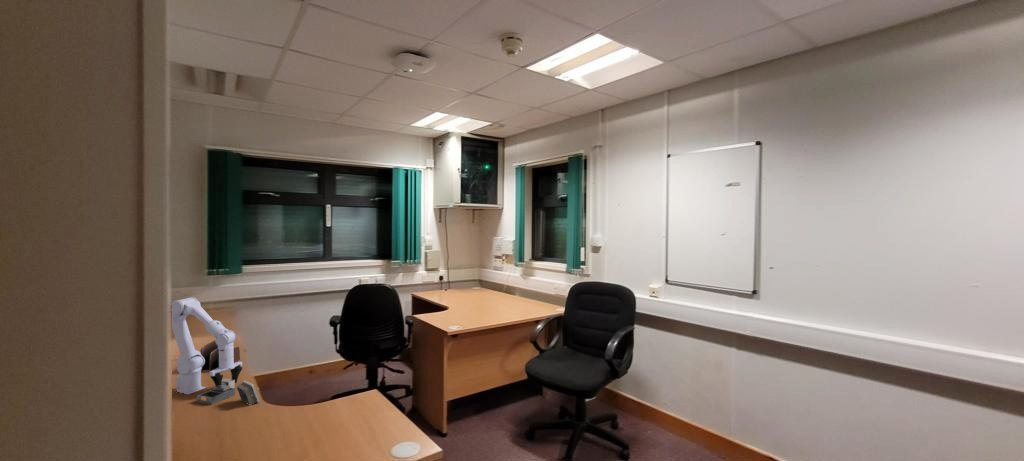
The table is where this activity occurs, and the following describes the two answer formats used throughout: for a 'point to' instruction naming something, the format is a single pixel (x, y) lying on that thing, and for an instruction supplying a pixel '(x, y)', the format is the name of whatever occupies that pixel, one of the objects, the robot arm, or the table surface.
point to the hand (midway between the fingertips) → (226, 385)
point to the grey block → (228, 382)
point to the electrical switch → (248, 393)
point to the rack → (216, 394)
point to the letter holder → (214, 356)
